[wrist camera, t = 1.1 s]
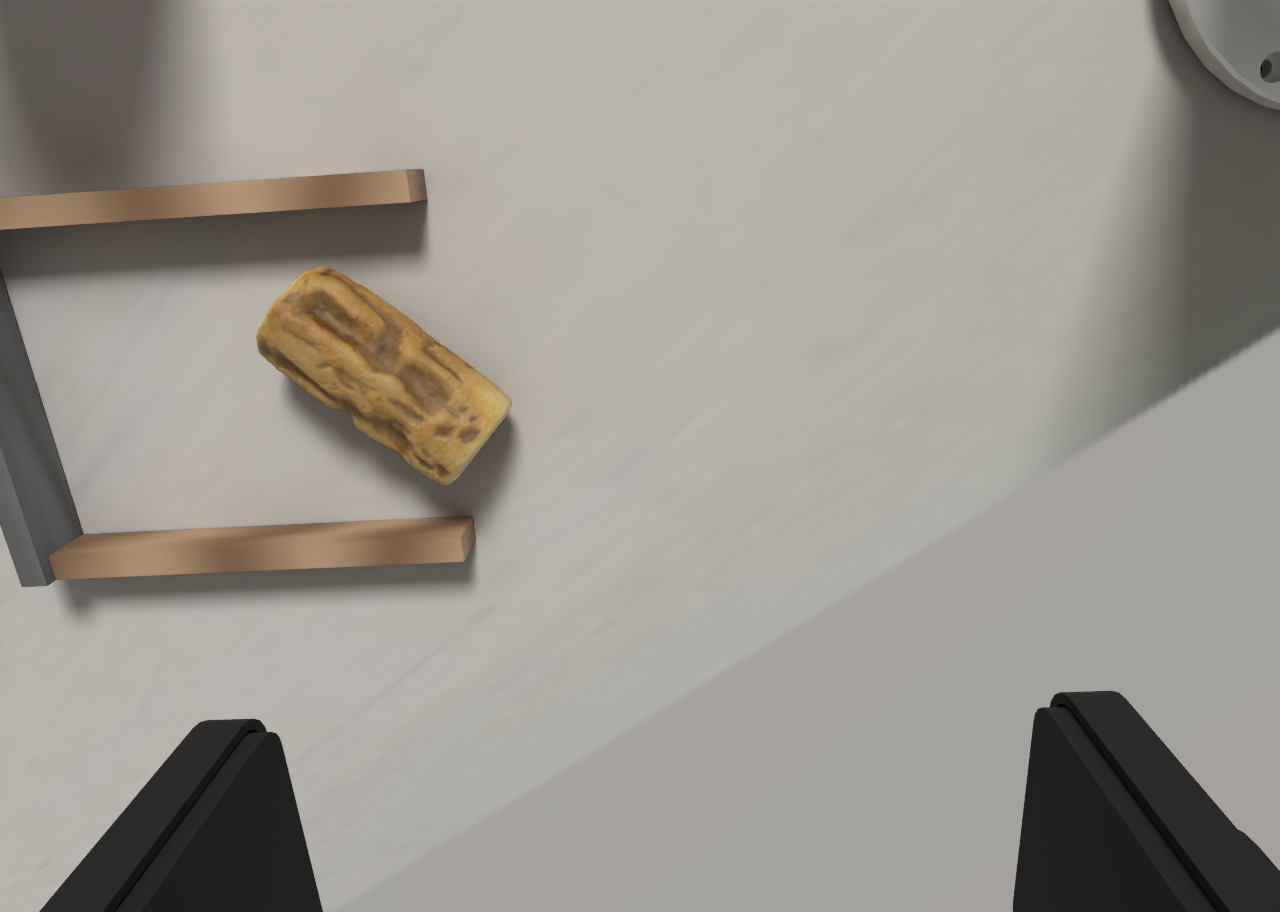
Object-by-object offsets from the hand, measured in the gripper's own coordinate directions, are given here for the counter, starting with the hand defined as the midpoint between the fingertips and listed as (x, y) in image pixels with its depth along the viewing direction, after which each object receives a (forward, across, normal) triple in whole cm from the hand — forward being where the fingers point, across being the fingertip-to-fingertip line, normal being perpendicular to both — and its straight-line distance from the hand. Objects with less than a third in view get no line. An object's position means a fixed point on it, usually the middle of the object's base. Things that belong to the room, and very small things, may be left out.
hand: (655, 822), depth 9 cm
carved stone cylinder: (+23, +10, 0) cm, 25 cm away
